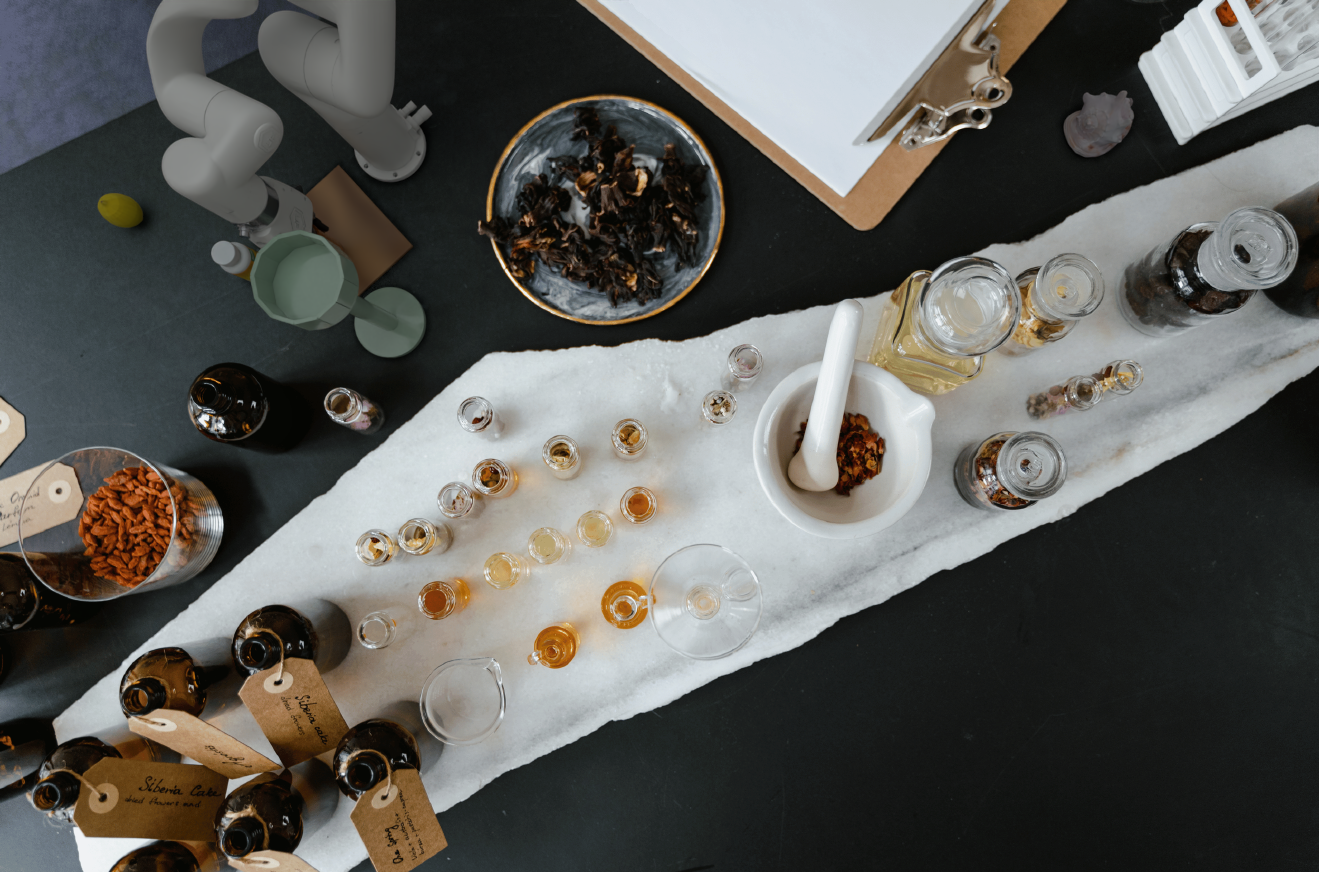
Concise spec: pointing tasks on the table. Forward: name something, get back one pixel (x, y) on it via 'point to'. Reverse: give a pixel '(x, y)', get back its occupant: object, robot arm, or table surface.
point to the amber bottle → (326, 236)
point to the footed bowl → (332, 294)
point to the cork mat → (358, 226)
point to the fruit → (120, 210)
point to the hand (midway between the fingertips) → (318, 245)
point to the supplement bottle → (234, 258)
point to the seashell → (1099, 124)
